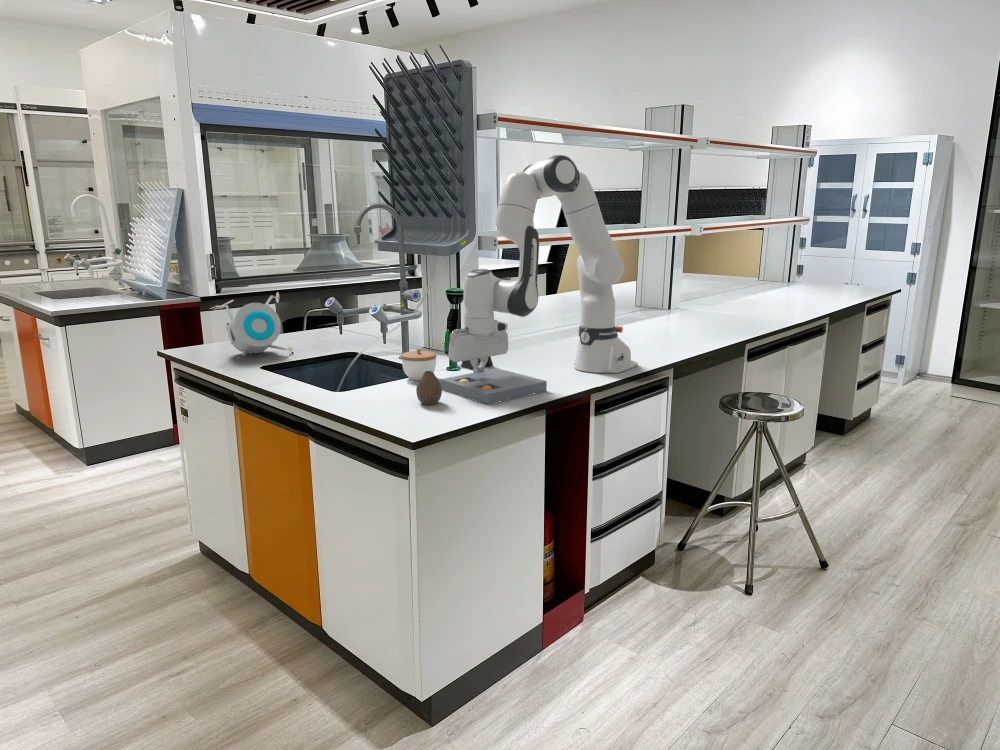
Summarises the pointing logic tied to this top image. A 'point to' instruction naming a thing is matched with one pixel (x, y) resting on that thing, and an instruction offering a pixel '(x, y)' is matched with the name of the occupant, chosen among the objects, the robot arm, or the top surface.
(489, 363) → the door stopper
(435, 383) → the vase
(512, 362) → the top surface
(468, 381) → the sand ball
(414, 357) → the lidded jar
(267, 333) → the satellite
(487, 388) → the terracotta ball
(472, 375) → the hole plate
